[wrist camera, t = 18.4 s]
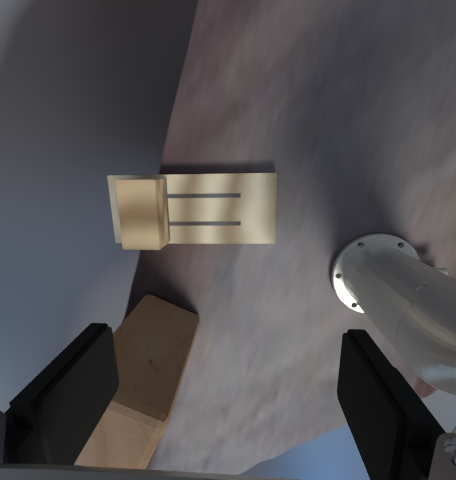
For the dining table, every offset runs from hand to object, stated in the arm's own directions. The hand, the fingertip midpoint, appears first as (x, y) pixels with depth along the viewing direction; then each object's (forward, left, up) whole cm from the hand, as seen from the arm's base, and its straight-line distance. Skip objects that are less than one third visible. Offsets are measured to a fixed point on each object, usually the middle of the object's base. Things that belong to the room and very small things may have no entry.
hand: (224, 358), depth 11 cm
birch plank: (+7, -2, -30) cm, 31 cm away
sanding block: (+13, -2, -29) cm, 32 cm away
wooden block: (+13, +18, -31) cm, 38 cm away
